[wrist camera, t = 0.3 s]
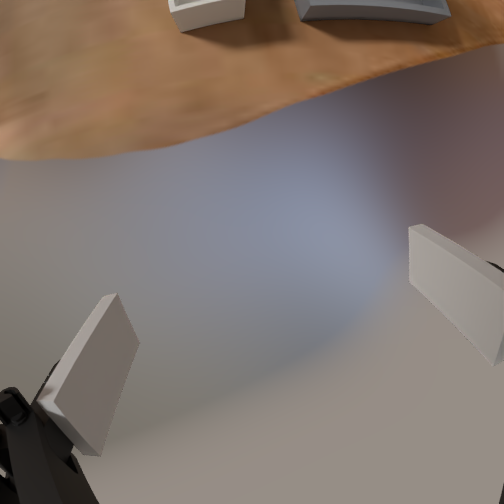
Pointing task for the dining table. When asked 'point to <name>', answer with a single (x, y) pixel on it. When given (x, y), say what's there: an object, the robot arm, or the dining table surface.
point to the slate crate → (374, 10)
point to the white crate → (205, 12)
